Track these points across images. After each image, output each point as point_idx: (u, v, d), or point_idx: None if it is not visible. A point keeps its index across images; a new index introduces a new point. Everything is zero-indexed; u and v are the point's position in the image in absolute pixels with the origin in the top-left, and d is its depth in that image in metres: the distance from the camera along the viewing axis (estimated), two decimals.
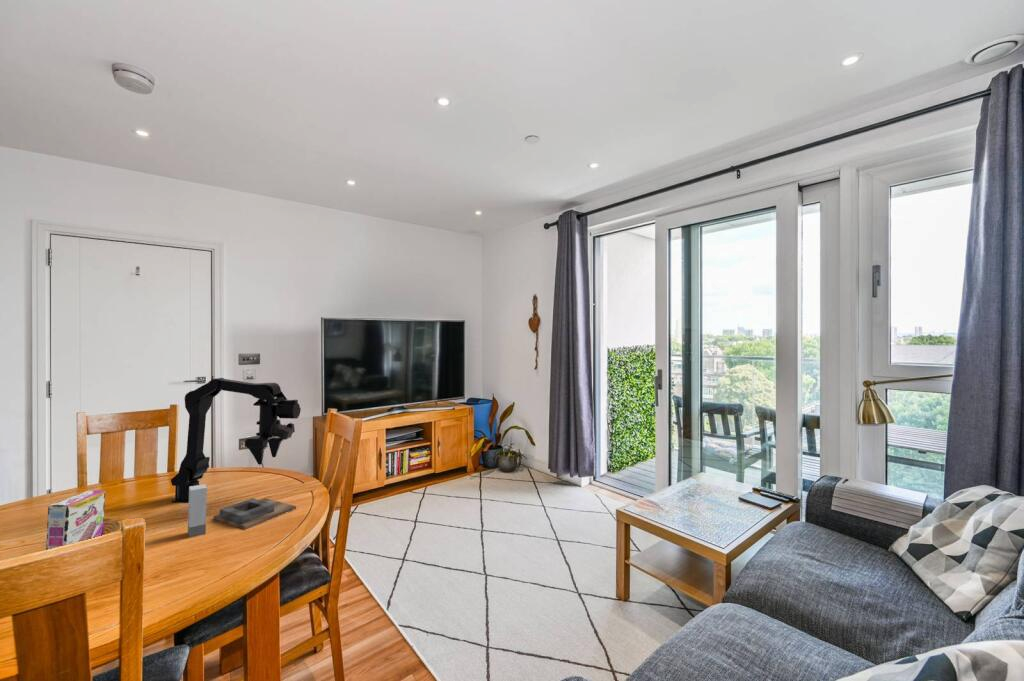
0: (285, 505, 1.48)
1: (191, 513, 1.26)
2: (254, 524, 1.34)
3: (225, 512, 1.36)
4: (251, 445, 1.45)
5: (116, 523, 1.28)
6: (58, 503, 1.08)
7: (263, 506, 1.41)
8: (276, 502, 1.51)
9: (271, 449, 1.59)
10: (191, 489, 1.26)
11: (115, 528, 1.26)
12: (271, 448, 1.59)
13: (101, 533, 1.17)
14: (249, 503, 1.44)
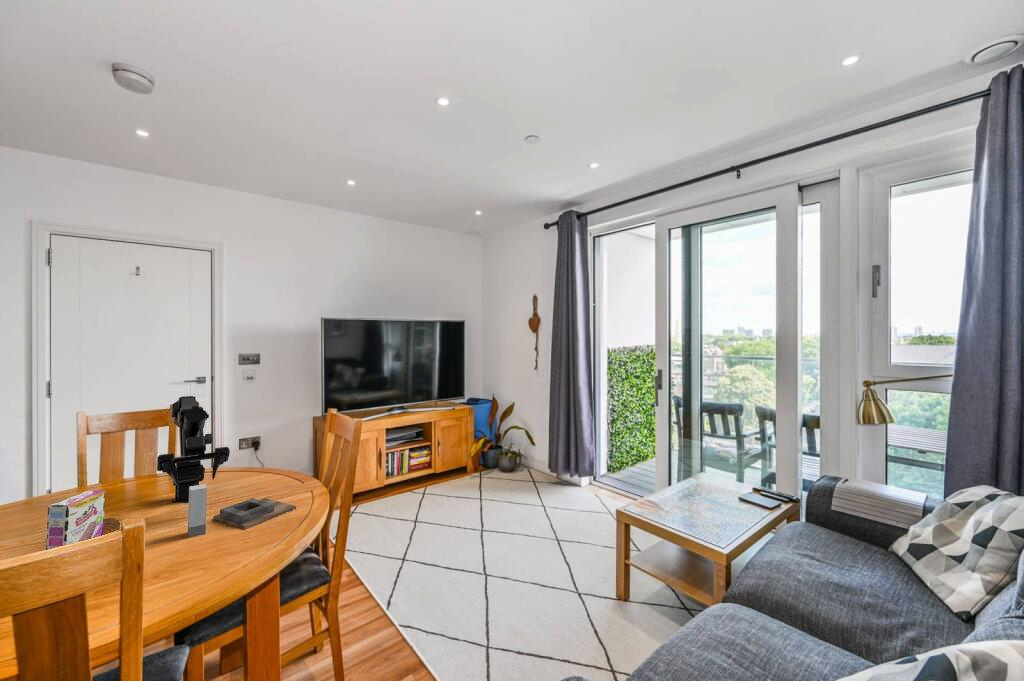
0: (285, 505, 1.48)
1: (191, 513, 1.26)
2: (254, 524, 1.34)
3: (225, 512, 1.36)
4: (157, 465, 1.32)
5: (118, 523, 1.28)
6: (58, 503, 1.08)
7: (263, 506, 1.41)
8: (276, 502, 1.51)
9: (212, 472, 1.39)
10: (191, 489, 1.26)
11: (117, 528, 1.27)
12: (212, 471, 1.40)
13: (101, 533, 1.17)
14: (249, 503, 1.44)
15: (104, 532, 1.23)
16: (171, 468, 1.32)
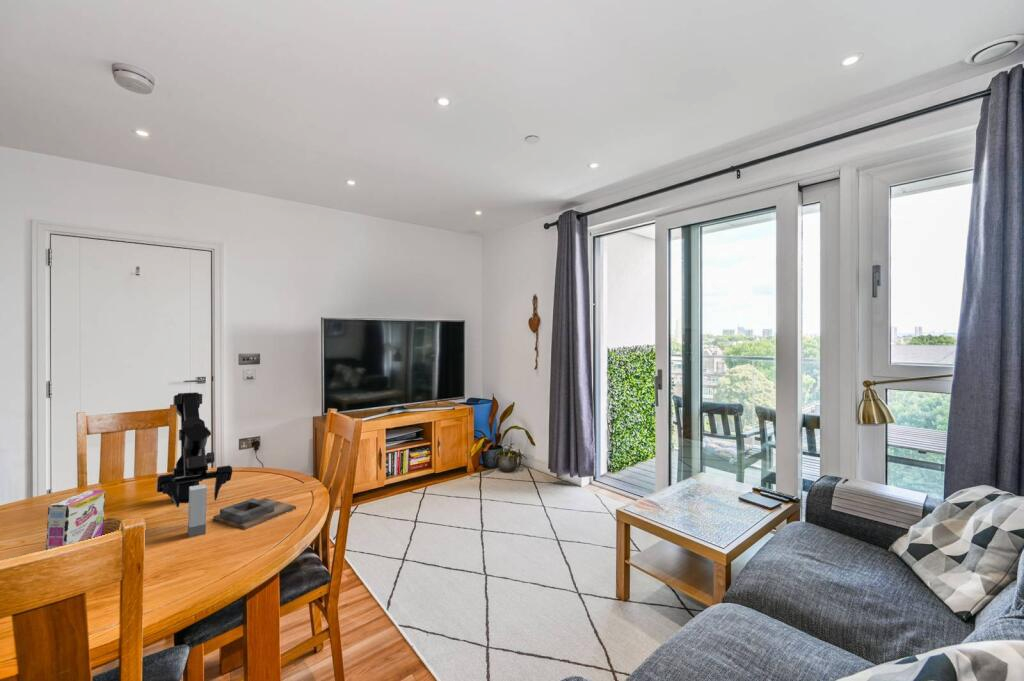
0: (285, 505, 1.48)
1: (191, 513, 1.26)
2: (254, 524, 1.34)
3: (225, 512, 1.36)
4: (157, 486, 1.27)
5: (119, 522, 1.29)
6: (58, 503, 1.08)
7: (263, 506, 1.41)
8: (276, 502, 1.51)
9: (214, 492, 1.34)
10: (191, 489, 1.26)
11: (118, 527, 1.27)
12: None
13: (101, 533, 1.17)
14: (249, 503, 1.44)
15: (106, 532, 1.23)
16: (171, 489, 1.27)
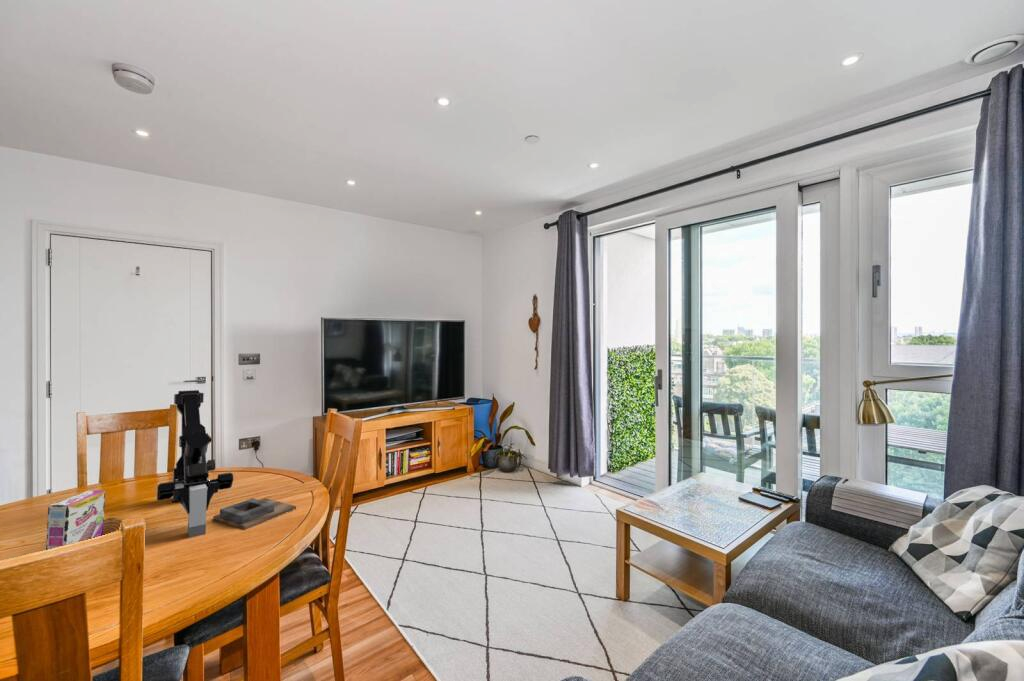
0: (285, 505, 1.48)
1: (191, 513, 1.26)
2: (254, 524, 1.34)
3: (225, 512, 1.36)
4: (157, 494, 1.25)
5: (120, 522, 1.29)
6: (58, 503, 1.08)
7: (263, 506, 1.41)
8: (276, 502, 1.51)
9: None
10: (191, 489, 1.26)
11: None
12: None
13: (101, 533, 1.17)
14: (249, 503, 1.44)
15: (108, 531, 1.23)
16: (182, 496, 1.27)
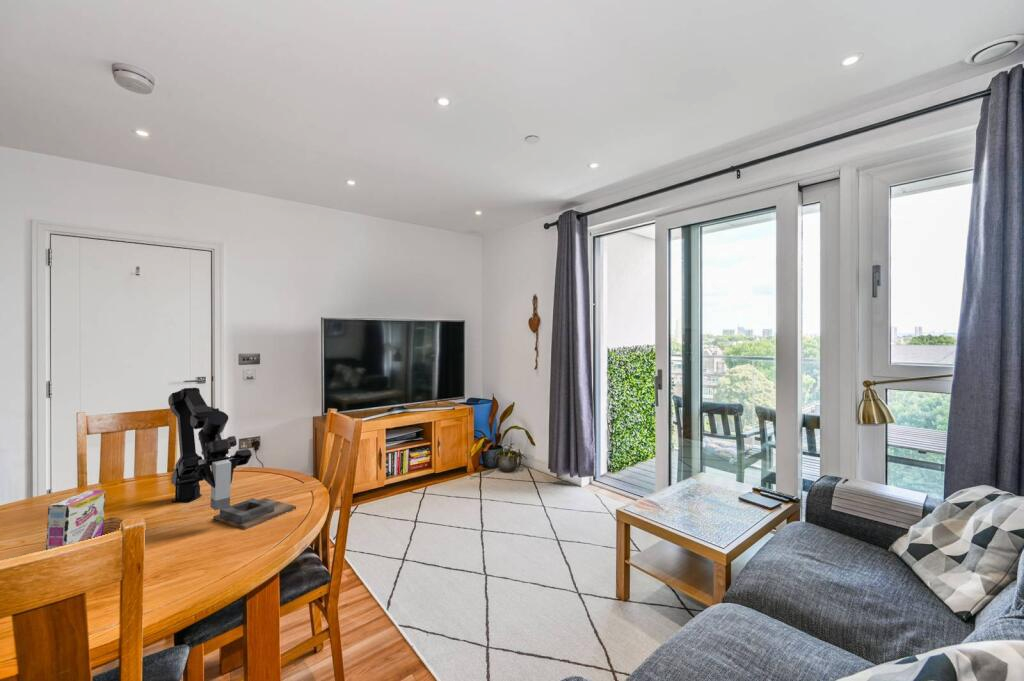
0: (285, 505, 1.48)
1: (217, 487, 1.30)
2: (254, 524, 1.34)
3: (225, 512, 1.36)
4: (180, 470, 1.28)
5: None
6: (58, 503, 1.08)
7: (263, 506, 1.41)
8: (276, 502, 1.51)
9: None
10: (216, 464, 1.31)
11: None
12: None
13: (101, 533, 1.17)
14: (249, 503, 1.44)
15: (110, 531, 1.24)
16: (206, 471, 1.31)
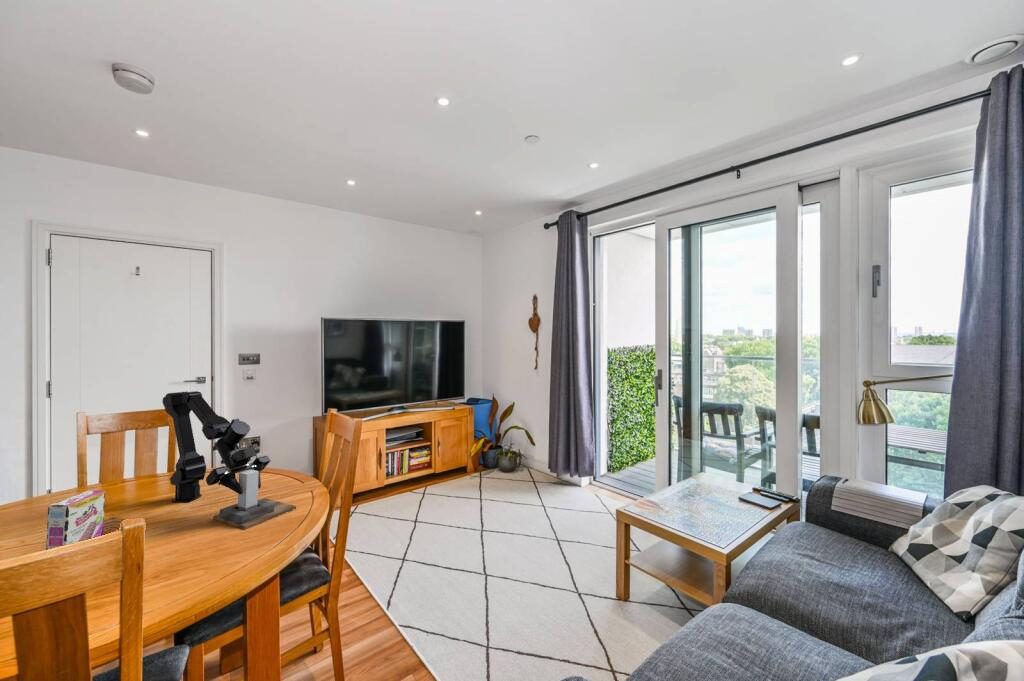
0: (285, 505, 1.48)
1: (247, 495, 1.38)
2: (254, 524, 1.34)
3: (225, 512, 1.36)
4: (210, 479, 1.34)
5: None
6: (58, 503, 1.08)
7: (263, 506, 1.41)
8: (276, 502, 1.51)
9: None
10: (246, 473, 1.38)
11: None
12: None
13: (101, 533, 1.17)
14: None
15: (113, 530, 1.24)
16: (232, 479, 1.37)
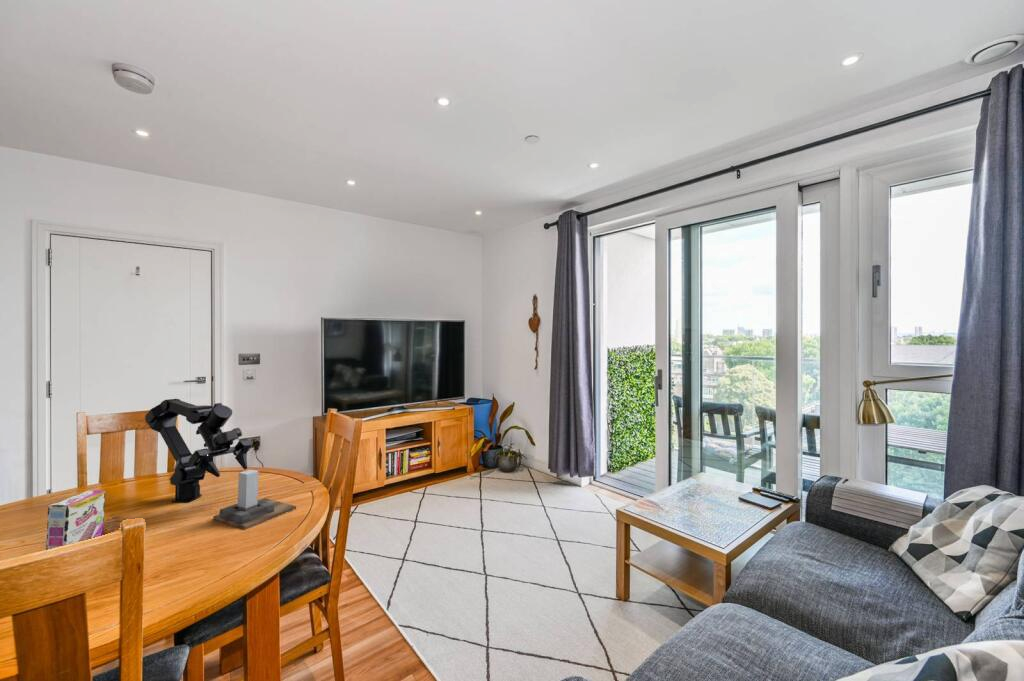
0: (285, 505, 1.48)
1: (247, 495, 1.38)
2: (254, 524, 1.34)
3: (225, 512, 1.36)
4: (192, 461, 1.37)
5: None
6: (58, 503, 1.08)
7: (263, 506, 1.41)
8: (276, 502, 1.51)
9: (241, 464, 1.49)
10: (246, 474, 1.38)
11: None
12: (240, 463, 1.49)
13: (101, 533, 1.17)
14: None
15: (116, 529, 1.25)
16: (209, 462, 1.39)
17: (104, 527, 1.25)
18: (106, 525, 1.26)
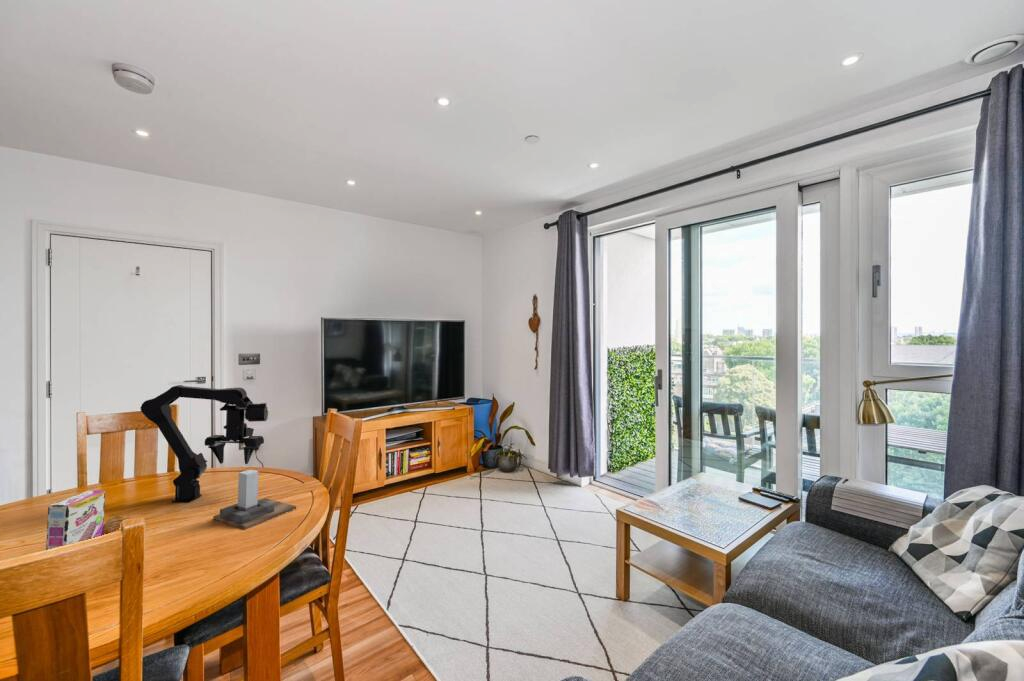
0: (285, 505, 1.48)
1: (247, 495, 1.38)
2: (254, 524, 1.34)
3: (225, 512, 1.36)
4: (259, 443, 1.58)
5: None
6: (58, 503, 1.08)
7: (263, 506, 1.41)
8: (276, 502, 1.51)
9: (220, 456, 1.57)
10: (246, 474, 1.38)
11: None
12: (219, 455, 1.57)
13: (101, 533, 1.17)
14: None
15: None
16: None
17: (107, 526, 1.25)
18: (109, 524, 1.26)
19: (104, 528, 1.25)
